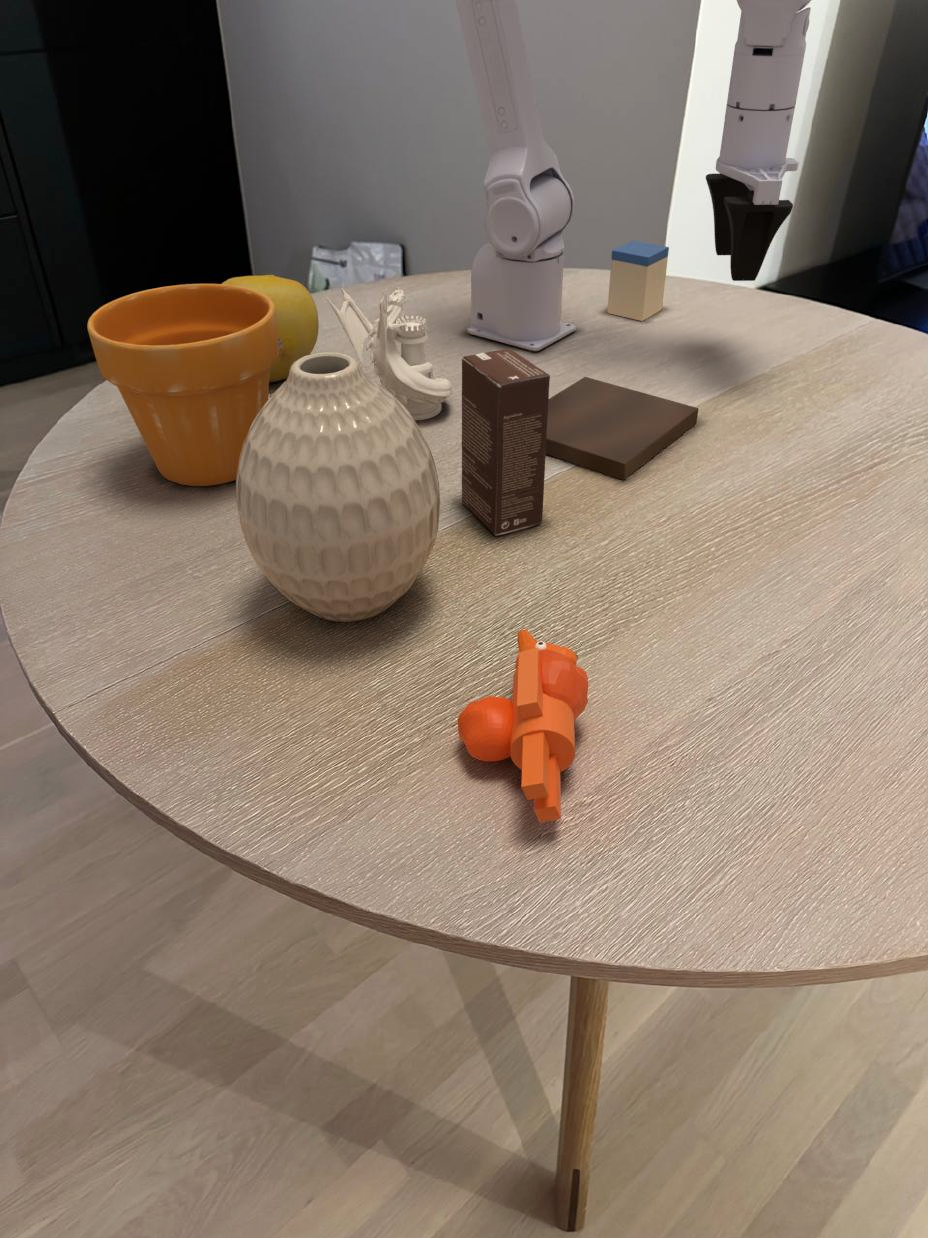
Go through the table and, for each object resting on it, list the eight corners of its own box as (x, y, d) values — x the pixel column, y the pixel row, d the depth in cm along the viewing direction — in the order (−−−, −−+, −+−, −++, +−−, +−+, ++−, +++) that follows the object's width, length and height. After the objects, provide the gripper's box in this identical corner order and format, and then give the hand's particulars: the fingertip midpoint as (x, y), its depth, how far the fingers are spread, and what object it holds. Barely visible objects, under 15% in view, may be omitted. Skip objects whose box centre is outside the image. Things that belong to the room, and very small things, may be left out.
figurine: (458, 395, 90) (455, 268, 82) (445, 431, 84) (440, 298, 76) (350, 390, 91) (337, 265, 84) (329, 425, 85) (313, 293, 78)
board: (505, 440, 82) (505, 425, 81) (584, 390, 90) (584, 376, 89) (623, 480, 76) (625, 464, 75) (696, 423, 84) (699, 407, 83)
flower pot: (207, 413, 87) (178, 272, 80) (328, 446, 82) (311, 298, 74) (91, 478, 78) (45, 325, 70) (219, 520, 72) (185, 359, 64)
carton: (607, 312, 107) (611, 250, 102) (627, 301, 110) (632, 240, 105) (642, 321, 104) (648, 257, 100) (662, 309, 107) (669, 246, 103)
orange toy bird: (580, 758, 44) (574, 605, 53) (432, 787, 46) (452, 634, 55) (607, 826, 46) (597, 669, 56) (467, 850, 48) (480, 695, 58)
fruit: (341, 377, 94) (331, 276, 87) (242, 404, 89) (224, 299, 83) (296, 346, 100) (284, 250, 94) (202, 370, 96) (182, 271, 90)
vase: (369, 679, 57) (343, 431, 47) (217, 614, 63) (163, 379, 52) (478, 576, 66) (476, 347, 55) (335, 527, 71) (309, 310, 61)
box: (546, 523, 71) (553, 373, 64) (494, 538, 69) (494, 386, 62) (509, 488, 75) (511, 344, 68) (459, 501, 74) (455, 355, 66)
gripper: (831, 120, 74) (796, 291, 82) (786, 90, 85) (760, 243, 94) (742, 121, 74) (716, 292, 83) (709, 91, 86) (690, 244, 94)
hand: (734, 266), depth 88 cm, fingers open, 7 cm apart
